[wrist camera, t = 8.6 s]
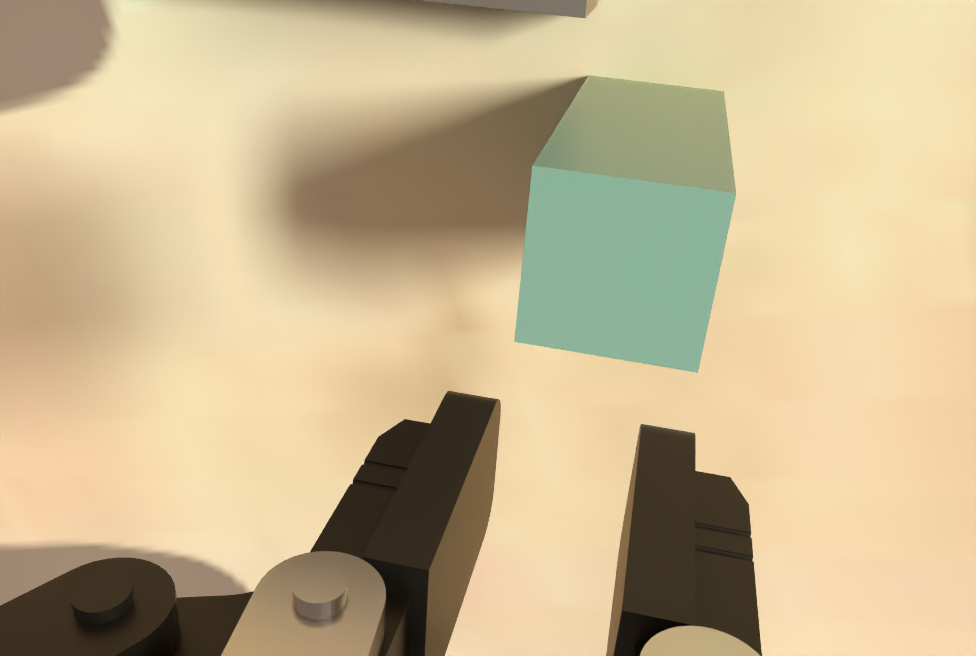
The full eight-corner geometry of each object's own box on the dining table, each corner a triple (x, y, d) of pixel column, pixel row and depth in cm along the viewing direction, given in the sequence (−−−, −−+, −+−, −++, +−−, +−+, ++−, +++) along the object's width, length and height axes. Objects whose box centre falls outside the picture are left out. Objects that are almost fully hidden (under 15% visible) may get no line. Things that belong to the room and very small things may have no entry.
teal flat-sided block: (698, 220, 27) (697, 372, 19) (572, 202, 28) (514, 341, 19) (723, 91, 26) (735, 193, 17) (588, 75, 26) (532, 165, 17)
